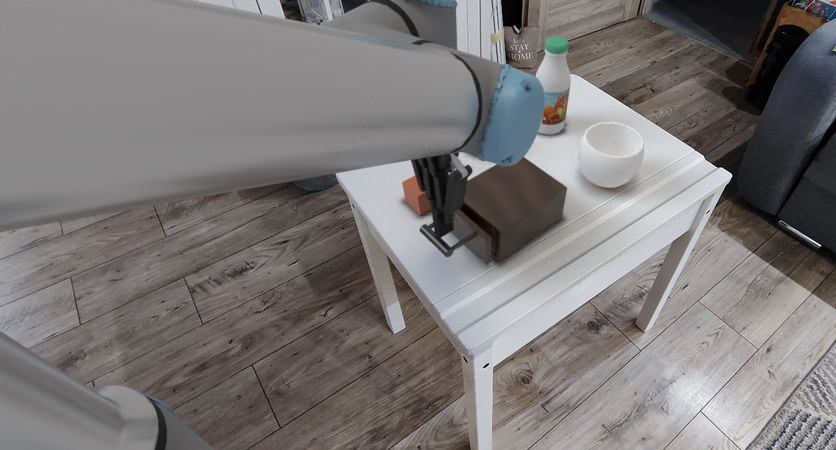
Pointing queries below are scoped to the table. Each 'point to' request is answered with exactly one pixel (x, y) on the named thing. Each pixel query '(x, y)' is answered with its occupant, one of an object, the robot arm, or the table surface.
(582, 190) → the table surface
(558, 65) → the milk bottle
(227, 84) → the robot arm
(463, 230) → the drawer
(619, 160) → the cup
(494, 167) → the cabinet
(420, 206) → the block
